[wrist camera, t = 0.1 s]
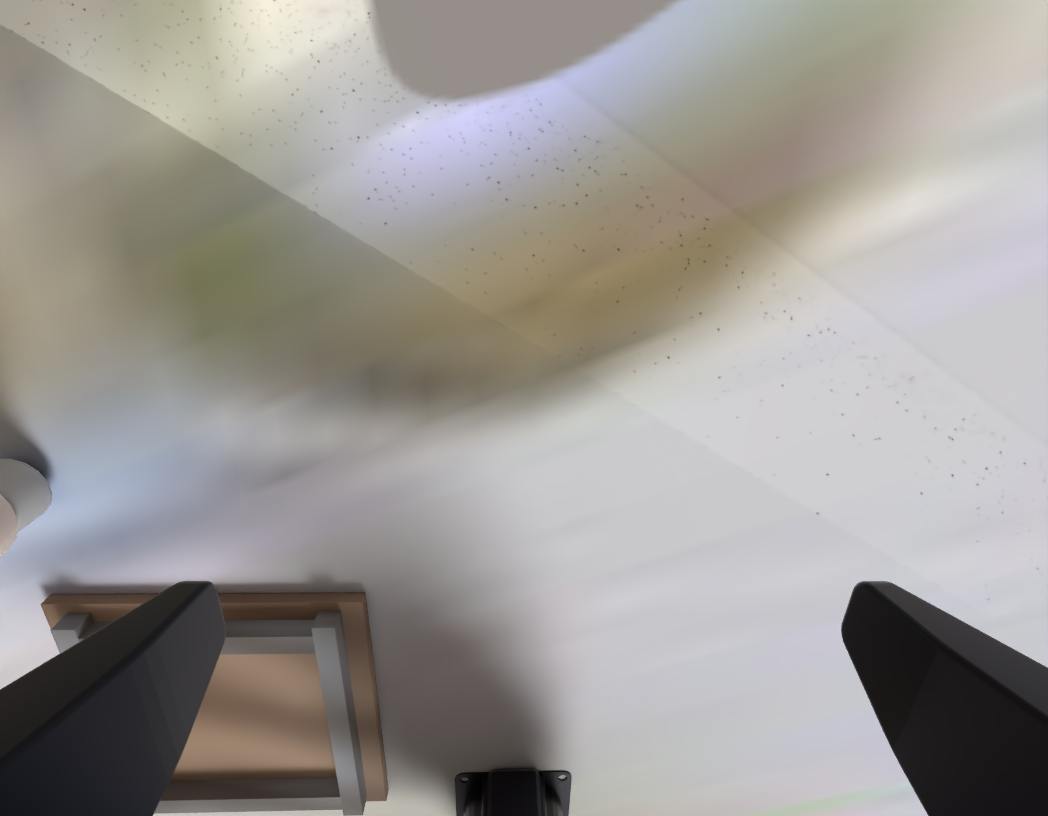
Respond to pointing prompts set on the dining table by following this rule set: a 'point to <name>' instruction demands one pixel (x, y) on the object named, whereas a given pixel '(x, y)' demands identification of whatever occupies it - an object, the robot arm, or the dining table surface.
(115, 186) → the dining table surface
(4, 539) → the light bulb
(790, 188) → the dining table surface
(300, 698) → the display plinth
